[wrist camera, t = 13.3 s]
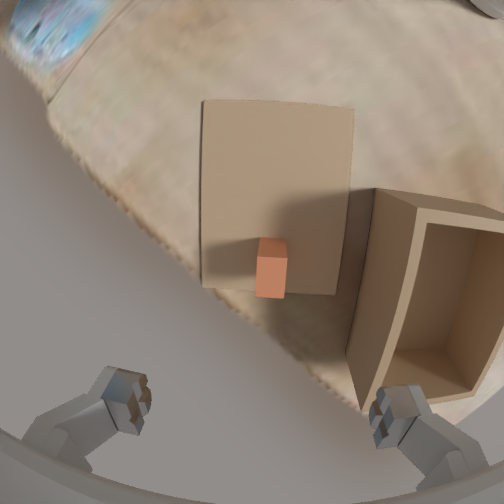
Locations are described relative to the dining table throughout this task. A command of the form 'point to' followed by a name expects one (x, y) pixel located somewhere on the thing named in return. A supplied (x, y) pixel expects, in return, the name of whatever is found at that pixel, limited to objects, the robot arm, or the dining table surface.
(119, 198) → the dining table surface
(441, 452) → the robot arm
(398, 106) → the dining table surface
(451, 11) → the dining table surface
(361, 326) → the brown carton
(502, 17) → the vodka
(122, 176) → the dining table surface
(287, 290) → the box lid
